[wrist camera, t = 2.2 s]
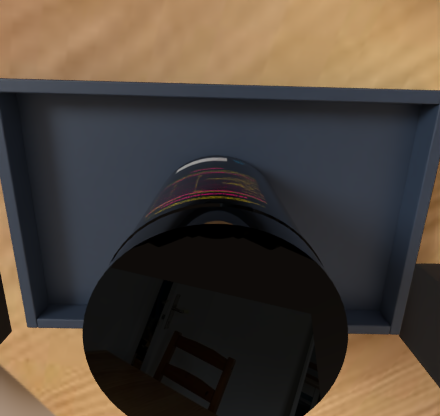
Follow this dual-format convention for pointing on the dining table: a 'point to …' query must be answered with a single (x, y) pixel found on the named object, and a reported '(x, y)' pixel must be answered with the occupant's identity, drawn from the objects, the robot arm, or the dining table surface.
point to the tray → (206, 146)
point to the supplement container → (215, 304)
